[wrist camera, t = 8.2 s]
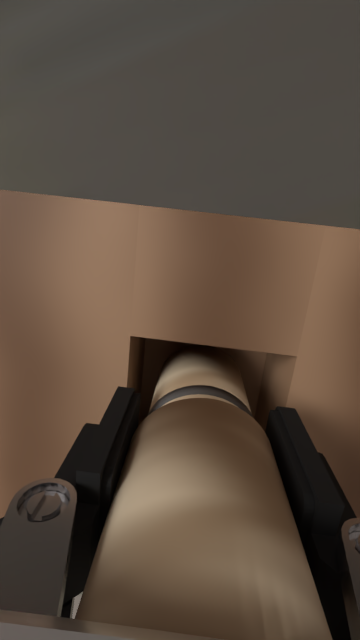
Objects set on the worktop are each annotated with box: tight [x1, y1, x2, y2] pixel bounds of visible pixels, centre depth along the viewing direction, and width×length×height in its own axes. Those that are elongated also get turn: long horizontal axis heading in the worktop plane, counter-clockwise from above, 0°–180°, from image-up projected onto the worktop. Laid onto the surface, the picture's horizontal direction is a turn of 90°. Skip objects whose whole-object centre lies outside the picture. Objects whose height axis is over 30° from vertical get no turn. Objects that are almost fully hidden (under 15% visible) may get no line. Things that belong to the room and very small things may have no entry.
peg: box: [75, 345, 333, 640], centre depth 9 cm, size 4×4×12 cm
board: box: [0, 190, 360, 518], centre depth 15 cm, size 20×14×5 cm
